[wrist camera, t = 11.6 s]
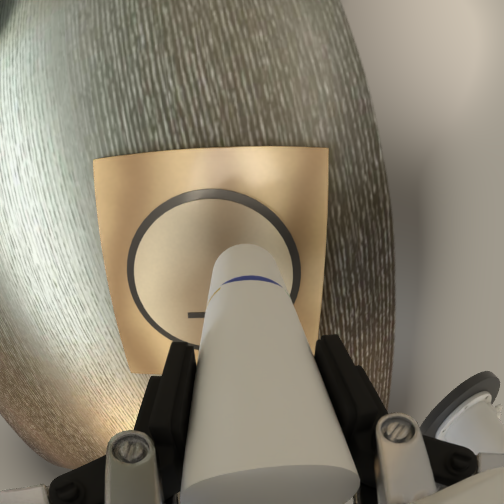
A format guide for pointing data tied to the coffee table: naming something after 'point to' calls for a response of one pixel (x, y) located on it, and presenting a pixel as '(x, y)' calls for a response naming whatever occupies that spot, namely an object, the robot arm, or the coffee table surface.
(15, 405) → the coffee table surface
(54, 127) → the coffee table surface
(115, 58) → the coffee table surface
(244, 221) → the drawing board
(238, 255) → the tube
